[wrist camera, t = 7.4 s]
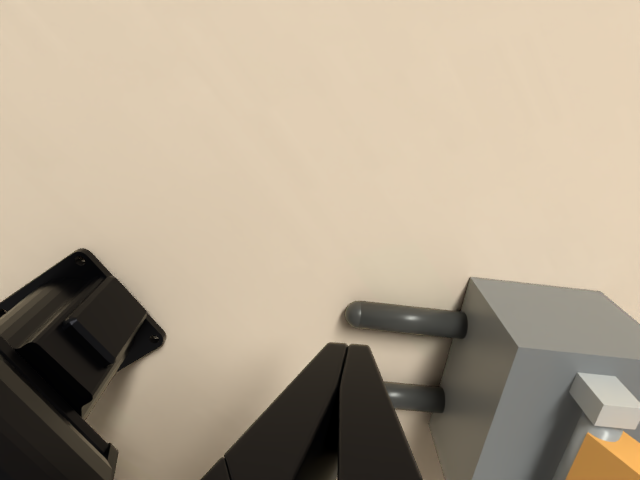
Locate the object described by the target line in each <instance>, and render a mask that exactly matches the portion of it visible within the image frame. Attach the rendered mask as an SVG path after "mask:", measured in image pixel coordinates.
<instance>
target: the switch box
mask: <svg viewBox="0 0 640 480" xmlns="http://www.w3.org/2000/svg"><path fill="white" fill-rule="evenodd" d="M345 318H346V320H347V322H348V323H349V324H350V325H351V326H352V327H355V328H361V329H371V330H380V331H390V332H399V333H409V334H418V335H428V336H437V337H447V338H453V340H452V343H451V347H450V350H449V354H448V357H447V361H446V365H445V368H444V372H443V375H442V379H441V382H440V386H439V387H434V386H424V385H414V384H404V383H394V382H384V381H383V382H384V384H385V387H386V389H387V392H388V394H389V397H390V399H391V402H392V404H393V407H394V409H401V410H411V411H421V412H432V414H431V418H430V421H429V427H430V431H431V434H432V437H433V441H434V444H435V447H436V451H437V454H438V458H439V461H440V464H441V468H442V471H443V474H444V478H445V480H552V479H553V477H554V475H555V472H556V470H557V468H558V466H559V463H560V461H561V459H562V457H563V454H564V452H565V450H566V448H567V446H568V443H569V441H570V439H571V437H572V434H573V432H574V430H575V428H576V425H577V423H578V421H579V419H580V417H581V414H582V412H584V413H585V414H586V416H587V417H588V418H589V420H590V421H591V422H592V424H593V425H594V426H602V427H613V428H623V431H624V432H625V433H627V434H628V435H629V436H631V437H632V438H633V439H635V440H636V441H638V442H639V443H640V324H639V323H638V322H637V321H636V320H634V319H633V318H632V317H631V316H629V315H628V314H627V313H626V312H625V311H623V310H622V309H621V308H620V307H619V306H617V305H616V304H615V303H614V302H613V301H611V300H610V299H609V298H608V297H607V296H605V295H604V294H603V293H602V292H600V291H591V290H582V289H573V288H565V287H556V286H547V285H538V284H529V283H520V282H511V281H502V280H493V279H484V278H475V277H470V280H469V283H468V287H467V290H466V294H465V297H464V301H463V304H462V308H461V311H460V312H459V311H450V310H440V309H431V308H422V307H412V306H403V305H394V304H385V303H375V302H366V301H354V302H352V303H350V304H349V305H348V307H347V308H346V311H345Z"/></svg>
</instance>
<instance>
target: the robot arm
mask: <svg viewBox="0 0 640 480" xmlns="http://www.w3.org/2000/svg"><path fill="white" fill-rule="evenodd" d="M79 256H81V257H83V258H84V259H85V262H82V261H81V260H80V259H79ZM3 309H4V310H6V311H7V313H6V312H4V310H3ZM153 335H154V336H157V337H158V338H159V339H155V338H153ZM165 338H166V334H165V332H164V331H163V329H162V328H161V327H160V326H159V325H158V324H157V323H156V322H155V321H154V320H153V319H152V318H151V317H150V315H149V314H148V313H147V312H146V310H145V309H144V308H143V307H142V306H141V305H140V303H139V302H138V301H137V300H136V299H135V298H134V297H133V296H132V295H131V294H130V293H129V292H128V290H127V289H126V288H125V287H124V286H123V285H122V284H121V283H120V282H119V281H118V280H117V279H116V278H115V277H114V276H113V275H112V274H111V273H110V272H109V271H108V270H107V269H106V268H105V267H104V266H103V265H102V263H101V262H100V261H99V260H98V259H97V258H96V257H95V256H94V255H93V254H92V253H91V252H90V251H89V250H87V249H78V250H76V251H74V252H73V253H72V254H70V255H69V256H67V257H66V258H64V259H63V260H61V261H60V262H58V263H57V264H56V265H54V266H53V267H51V268H50V269H48V270H47V271H45V272H44V273H42V274H41V275H40V276H38V277H37V278H35V279H34V280H32V281H31V282H29V283H28V284H26V285H25V286H24V287H22V288H21V289H19V290H18V291H16V292H15V293H13V294H12V295H10V296H9V297H8V298H6V299H5V300H3V301H2V302H0V480H113V479H114V474H115V468H116V463H117V457H118V450H117V449H116V448H115V447H114V446H113V445H112V444H111V443H108V444H107V443H106V442H105V441H104V440H103V439H102V438H101V437H100V436H99V435H98V434H97V433H96V432H95V431H94V430H93V429H92V428H91V427H90V426H89V425H88V424H87V423H86V422H85V420H86V418H87V416H88V415H89V413H90V412H91V410H92V409H93V407H94V406H95V404H96V403H97V401H98V399H99V398H100V396H101V395H102V393H103V392H104V390H105V389H106V387H107V386H108V384H109V382H110V381H111V379H112V378H113V376H114V375H115V373H116V372H117V371H119V370H121V369H122V368H124V367H126V366H127V365H129V364H131V363H133V362H134V361H136V360H138V359H139V358H141V357H143V356H144V355H146V354H148V353H149V352H151V351H153V350H154V349H156V348H158V347H159V346H161V345H162V344H163V342H164V340H165ZM224 457H225V458H223V457H222V458H220V459H219V461H218V462H217V463H216V464H215V465H214V466H213V467H212V468H211V469H210V470H209V471H208V472H207V473H206V474H205V476H204V477H203V478H202V479H201V480H336V479H337V480H423V479H422V476H421V474H420V471H419V469H418V466H417V464H416V461H415V459H414V456H413V454H412V451H411V449H410V446H409V444H408V441H407V439H406V436H405V434H404V431H403V429H402V426H401V424H400V421H399V419H398V416H397V414H396V412H395V409H394V407H393V404H392V402H391V399H390V397H389V394H388V392H387V389H386V387H385V384H384V382H383V379H382V377H381V374H380V372H379V369H378V367H377V364H376V362H375V359H374V357H373V354H372V352H371V349H370V347H369V346H368V345H361V344H350V345H349V347H348V345H347V344H345V343H333V342H330V343H328V344H326V346H325V347H324V348H323V349H322V350H321V351H320V352H319V353H318V354H317V355H316V356H315V357H314V358H313V360H312V361H311V362H310V363H309V364H308V365H307V366H306V367H305V368H304V369H303V370H302V371H301V372H300V374H299V375H298V376H297V377H296V378H295V379H294V380H293V381H292V382H291V383H290V384H289V385H288V386H287V388H286V389H285V390H284V391H283V392H282V393H281V394H280V395H279V396H278V397H277V398H276V399H275V400H274V402H273V403H272V404H271V405H270V406H269V407H268V408H267V409H266V410H265V411H264V412H263V413H262V415H261V416H260V417H259V418H258V419H257V420H256V421H255V422H254V423H253V424H252V425H251V426H250V427H249V429H248V430H247V431H246V432H245V433H244V434H243V435H242V436H241V437H240V438H239V439H238V440H237V441H236V443H235V444H234V445H233V446H232V447H231V448H230V449H229V450H228V451H227V452H226V453H225V455H224Z"/></svg>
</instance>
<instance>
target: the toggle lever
mask: <svg viewBox="0 0 640 480" xmlns="http://www.w3.org/2000/svg"><path fill="white" fill-rule="evenodd" d="M552 480H640V443H639V442H638V441H636V440H635V439H633V438H632V437H631V436H629V435H628V434H627V433H625V432H624V431H623V428H613V427H602V426H594V425H593V424H592V422H591V421H590V420H589V418H588V417H587V416H586V414H585V413H584V412H582V414H581V417H580V419H579V421H578V423H577V425H576V428H575V430H574V432H573V434H572V437H571V439H570V441H569V443H568V446H567V448H566V450H565V452H564V454H563V457H562V459H561V461H560V463H559V466H558V468H557V470H556V472H555V475H554V477H553V479H552Z"/></svg>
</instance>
